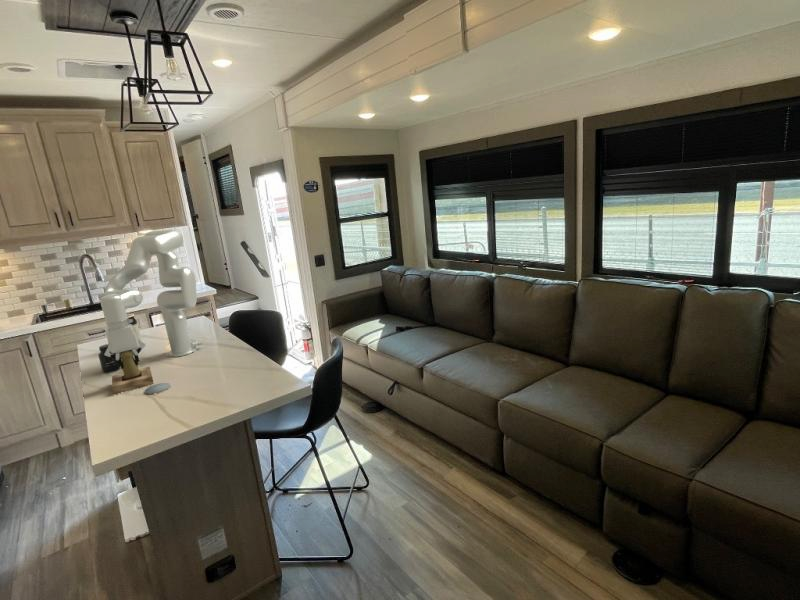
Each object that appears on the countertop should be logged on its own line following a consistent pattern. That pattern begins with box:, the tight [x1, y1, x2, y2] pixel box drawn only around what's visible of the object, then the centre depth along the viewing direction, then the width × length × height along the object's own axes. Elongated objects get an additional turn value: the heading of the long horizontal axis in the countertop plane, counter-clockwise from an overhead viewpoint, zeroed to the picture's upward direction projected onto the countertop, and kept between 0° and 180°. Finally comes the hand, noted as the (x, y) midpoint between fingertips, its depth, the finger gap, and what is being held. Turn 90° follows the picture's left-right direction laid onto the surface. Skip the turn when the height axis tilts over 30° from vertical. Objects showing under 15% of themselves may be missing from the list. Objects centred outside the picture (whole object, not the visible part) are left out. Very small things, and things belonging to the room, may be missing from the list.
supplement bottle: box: [98, 343, 121, 374], centre depth 195 cm, size 7×7×12 cm
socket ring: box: [111, 365, 155, 395], centre depth 178 cm, size 14×14×4 cm
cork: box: [119, 350, 140, 378], centre depth 177 cm, size 6×6×11 cm
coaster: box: [144, 382, 171, 395], centre depth 171 cm, size 9×9×1 cm
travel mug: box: [127, 313, 143, 350], centre depth 222 cm, size 8×8×18 cm
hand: (129, 365), depth 177 cm, fingers closed on cork, 4 cm apart
